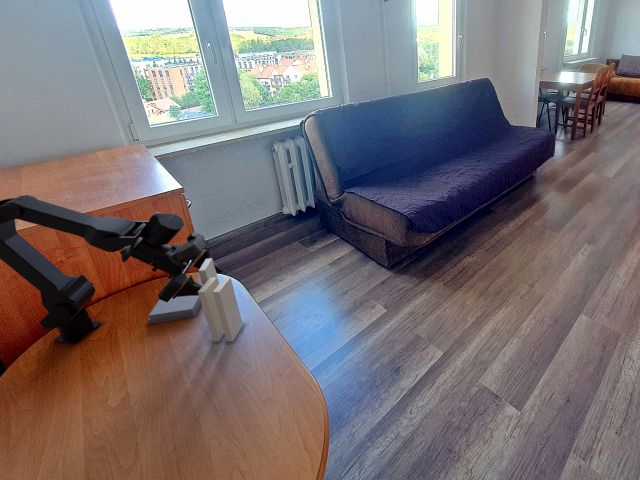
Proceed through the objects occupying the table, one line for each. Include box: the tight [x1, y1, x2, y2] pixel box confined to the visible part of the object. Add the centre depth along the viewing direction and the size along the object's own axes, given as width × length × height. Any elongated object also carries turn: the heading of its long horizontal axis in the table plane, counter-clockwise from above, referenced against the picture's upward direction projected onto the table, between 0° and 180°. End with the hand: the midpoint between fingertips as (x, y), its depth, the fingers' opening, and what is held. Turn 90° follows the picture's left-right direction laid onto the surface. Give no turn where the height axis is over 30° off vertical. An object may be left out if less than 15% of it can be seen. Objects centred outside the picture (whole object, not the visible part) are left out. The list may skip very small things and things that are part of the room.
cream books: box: [198, 277, 244, 342], centre depth 84 cm, size 5×5×16 cm
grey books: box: [147, 296, 202, 325], centre depth 93 cm, size 11×8×3 cm
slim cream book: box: [198, 257, 220, 286], centre depth 91 cm, size 2×5×16 cm, turn 13°
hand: (216, 282), depth 90 cm, fingers open, 8 cm apart
